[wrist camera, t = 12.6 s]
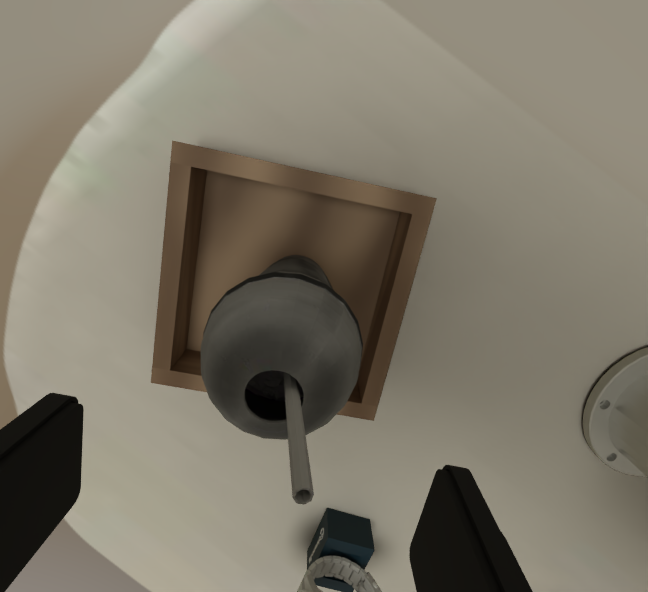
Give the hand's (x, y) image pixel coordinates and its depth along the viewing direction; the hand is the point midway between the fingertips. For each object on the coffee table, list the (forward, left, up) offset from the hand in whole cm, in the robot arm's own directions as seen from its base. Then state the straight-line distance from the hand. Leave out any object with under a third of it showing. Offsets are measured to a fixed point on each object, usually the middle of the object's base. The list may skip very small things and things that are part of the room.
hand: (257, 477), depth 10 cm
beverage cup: (0, 0, -19) cm, 19 cm away
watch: (-8, +24, -20) cm, 33 cm away
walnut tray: (+1, 0, -20) cm, 20 cm away
